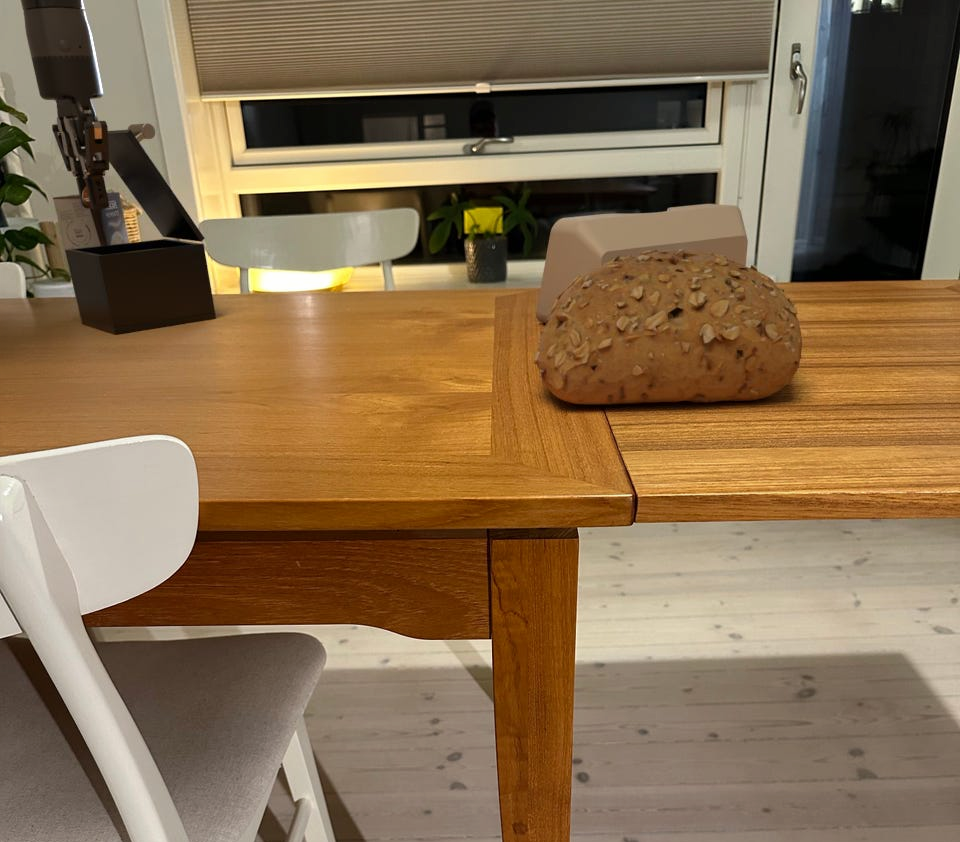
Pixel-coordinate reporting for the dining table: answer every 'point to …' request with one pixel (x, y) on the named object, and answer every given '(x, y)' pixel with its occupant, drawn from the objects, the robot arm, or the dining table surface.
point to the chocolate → (86, 197)
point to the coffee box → (90, 223)
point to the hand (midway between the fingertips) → (95, 207)
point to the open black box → (141, 285)
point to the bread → (669, 332)
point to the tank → (636, 241)
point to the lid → (149, 183)
